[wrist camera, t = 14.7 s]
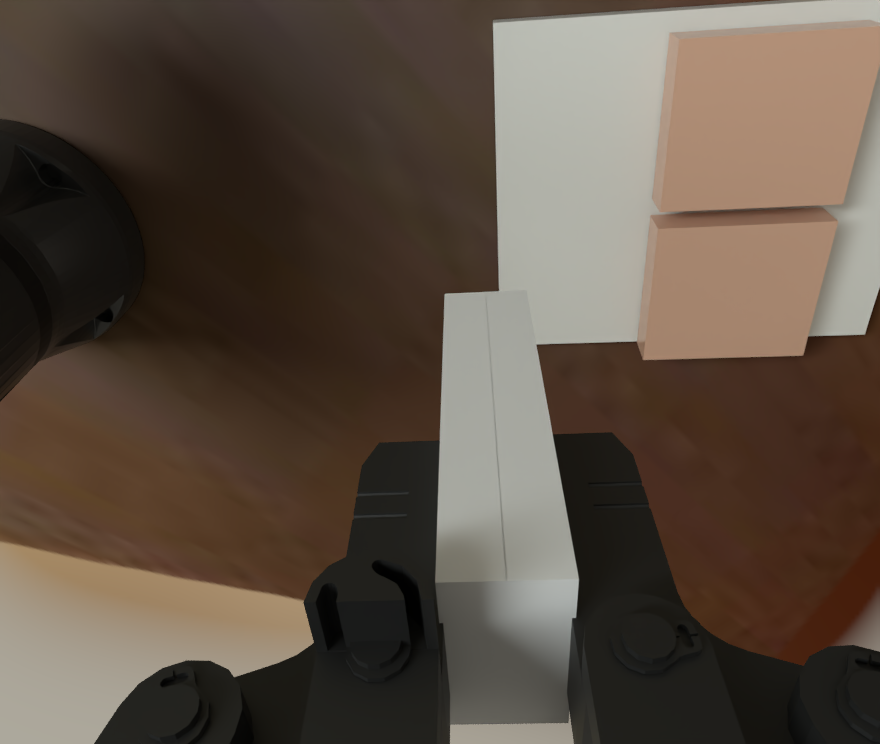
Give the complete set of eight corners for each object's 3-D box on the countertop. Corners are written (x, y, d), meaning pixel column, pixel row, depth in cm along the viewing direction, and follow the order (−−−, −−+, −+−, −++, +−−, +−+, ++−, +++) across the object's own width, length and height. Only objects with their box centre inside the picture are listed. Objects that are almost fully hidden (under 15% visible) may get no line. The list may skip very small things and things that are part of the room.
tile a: (643, 359, 45) (803, 355, 44) (658, 228, 40) (838, 221, 39) (636, 341, 47) (789, 336, 46) (649, 214, 42) (821, 206, 41)
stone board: (499, 336, 48) (500, 345, 47) (492, 19, 38) (493, 22, 36) (856, 325, 47) (864, 334, 46) (959, -12, 36) (973, -10, 35)
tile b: (659, 212, 39) (843, 204, 38) (679, 38, 34) (889, 25, 34) (651, 198, 41) (825, 190, 40) (668, 32, 36) (867, 19, 35)
